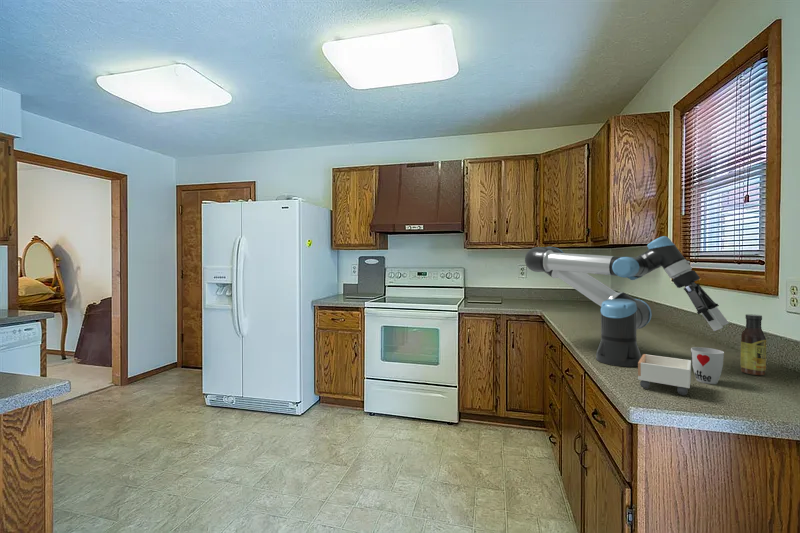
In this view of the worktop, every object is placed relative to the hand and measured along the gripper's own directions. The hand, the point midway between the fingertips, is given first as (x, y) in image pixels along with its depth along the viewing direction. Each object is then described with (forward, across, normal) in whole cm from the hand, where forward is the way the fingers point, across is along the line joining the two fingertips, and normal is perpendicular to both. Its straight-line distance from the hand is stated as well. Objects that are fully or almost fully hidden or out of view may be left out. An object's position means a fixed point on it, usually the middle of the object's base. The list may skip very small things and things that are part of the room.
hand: (722, 327), depth 127 cm
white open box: (+9, -32, +16) cm, 37 cm away
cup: (+13, -17, +10) cm, 23 cm away
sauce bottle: (+17, +4, +2) cm, 17 cm away
